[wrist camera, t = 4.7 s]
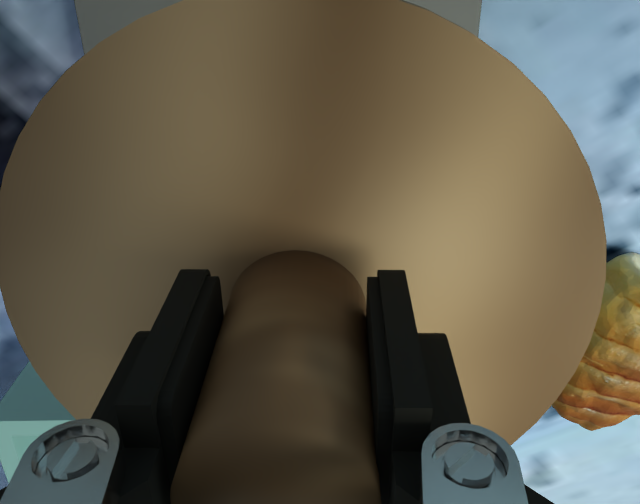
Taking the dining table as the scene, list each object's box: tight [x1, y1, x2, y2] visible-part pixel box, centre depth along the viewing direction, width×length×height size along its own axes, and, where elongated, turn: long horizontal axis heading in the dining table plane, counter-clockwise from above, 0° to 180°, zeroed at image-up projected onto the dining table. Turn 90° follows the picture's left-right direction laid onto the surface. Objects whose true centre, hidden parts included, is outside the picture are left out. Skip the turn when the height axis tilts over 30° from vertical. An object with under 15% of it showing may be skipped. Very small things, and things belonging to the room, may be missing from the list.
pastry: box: [552, 252, 640, 431], centre depth 27 cm, size 9×7×4 cm
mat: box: [74, 0, 482, 55], centre depth 24 cm, size 15×15×1 cm
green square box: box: [0, 361, 76, 483], centre depth 28 cm, size 12×12×6 cm
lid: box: [0, 0, 606, 504], centre depth 11 cm, size 13×13×6 cm
